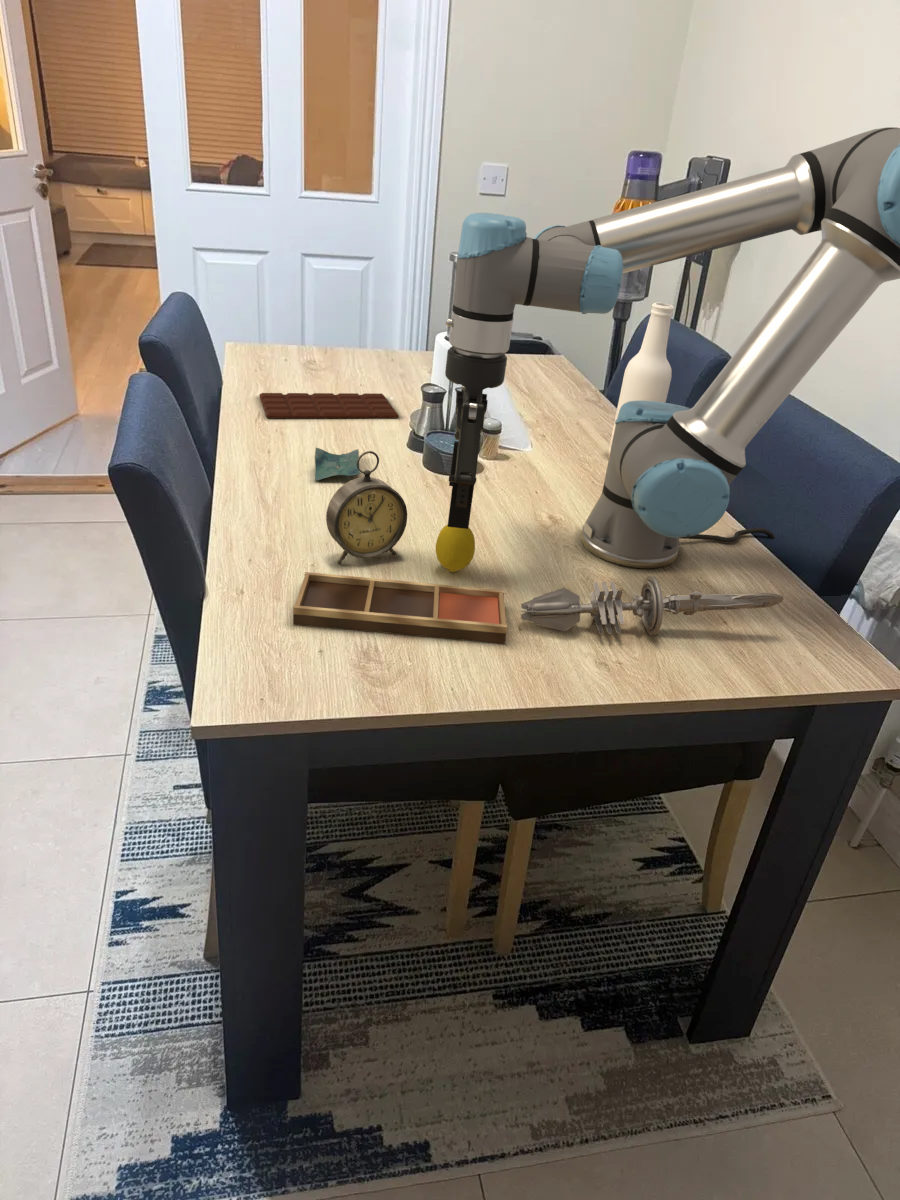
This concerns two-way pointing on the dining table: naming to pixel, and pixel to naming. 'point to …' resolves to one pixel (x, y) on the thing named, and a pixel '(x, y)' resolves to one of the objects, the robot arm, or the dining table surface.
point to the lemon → (455, 547)
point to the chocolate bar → (327, 405)
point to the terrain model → (335, 464)
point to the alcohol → (649, 363)
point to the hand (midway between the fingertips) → (458, 505)
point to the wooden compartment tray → (401, 607)
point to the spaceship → (632, 606)
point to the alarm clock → (366, 516)
